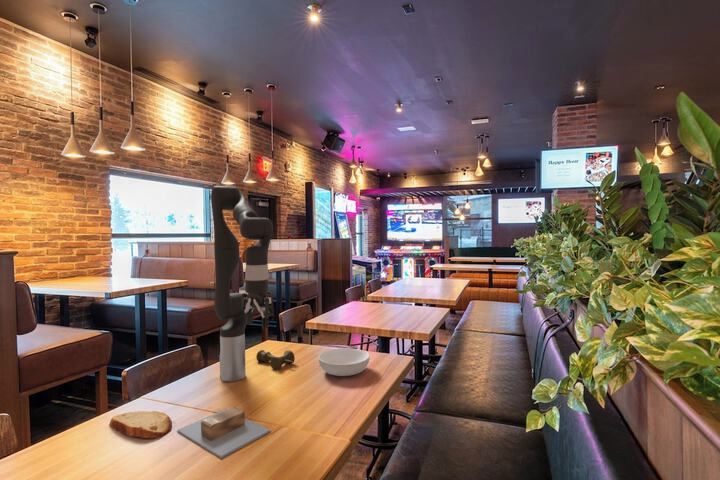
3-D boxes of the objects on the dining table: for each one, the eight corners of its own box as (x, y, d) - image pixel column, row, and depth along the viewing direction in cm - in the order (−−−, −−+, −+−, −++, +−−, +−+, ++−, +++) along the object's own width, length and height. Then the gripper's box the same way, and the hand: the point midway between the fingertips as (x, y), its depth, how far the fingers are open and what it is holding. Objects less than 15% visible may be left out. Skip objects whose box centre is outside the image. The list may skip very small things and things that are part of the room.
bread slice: (111, 420, 121) (111, 408, 121) (175, 410, 127) (175, 398, 127) (95, 451, 104) (95, 438, 104) (170, 437, 110) (169, 424, 110)
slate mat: (177, 431, 113) (177, 429, 113) (225, 410, 125) (225, 408, 125) (221, 458, 99) (221, 456, 99) (270, 431, 112) (270, 429, 112)
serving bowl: (379, 368, 161) (379, 352, 161) (351, 386, 143) (350, 368, 143) (338, 360, 172) (338, 344, 172) (307, 375, 154) (307, 358, 154)
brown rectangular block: (235, 419, 118) (234, 406, 118) (244, 424, 115) (244, 410, 115) (201, 435, 110) (200, 420, 109) (211, 441, 107) (210, 426, 106)
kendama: (268, 358, 176) (301, 365, 166) (251, 366, 168) (286, 373, 157) (267, 345, 176) (300, 351, 165) (251, 352, 168) (285, 359, 157)
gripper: (279, 278, 127) (279, 327, 128) (253, 274, 136) (253, 320, 137) (260, 281, 121) (261, 332, 122) (234, 277, 130) (235, 324, 131)
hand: (257, 326), depth 129 cm, fingers open, 8 cm apart
